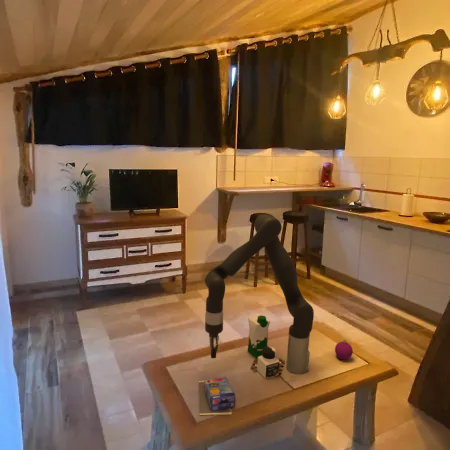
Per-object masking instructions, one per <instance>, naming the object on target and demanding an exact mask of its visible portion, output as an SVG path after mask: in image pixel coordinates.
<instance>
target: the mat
mask: <svg viewBox="0 0 450 450" xmlns="http://www.w3.org/2000/svg"><path fill="white" fill-rule="evenodd" d="M204 381H205V380H198V402H199V403H198V404H199V406H198V408H199V416H200V417H202V416H203V417H205V416H207V417H208V416H229V415H230V416H231V415H232V407H231V408H224V409H220V410H215V411H211V410H210V407H209V404H208V401H207V399H206V396H205V393H204Z"/></svg>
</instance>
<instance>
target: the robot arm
mask: <svg viewBox="0 0 450 450" xmlns="http://www.w3.org/2000/svg"><path fill="white" fill-rule="evenodd" d="M282 228H283V226H282V223H281V221H280V220H279V219H278V218H277V217H274V216H272V215H269V214H260V215H258V216H257V218H256V219H255V221H254V229H255V232H256V233H255V234H254V235H253V236H252V237H251V238H250V239H249V240H247V241H246V242H245V243H244V244H241V245H240V246H238V247H237V248H236V249H234V250H233V251H232V252H231V253H229V255H228V256H227V257H226V258H224V260H223V261H222V262H221V263H220V264H218V265H217V266H216V267H214V268H213V269H211V270H210V271H209V272H208V273H207V275H206V276H205V278H204V284H205V286H206V287H207V289H208V291H207V292H208V295H207V297H206V300H205V314H204V317H205V318H204V319H205V320H204V330H205V332H206V333H207V334H208V337H209V339H208V340H209V347H210V359H216V358H217V352H218V348H219V340H220V336H219V335H220V334H221V333H222V332H223V331H224V298H225V294H226V282H225V279H227V277H234V275H236V274H237V273H238V271H240V270H241V269H242V268H243V266H244V265H246V263H248V261H249V260H250V259H252V257H254V256H255V255H256V254H257V253H258V252H259V251H261V250H262V249H263V248H264V249H265V252H266V255H267V258H268V261H269V264H270V266H271V269H272V271H273V274H274V277H275V279H276V282H277V283H278V285H279V287H280V290H281V291H282V293H283V295H284V299H285V303H286V307H287V311H288V312H289V314H290V315H291V316H292V317H293V319H292V320H293V322H292V324H291V325H289V328H288V340H287V354H286V355H287V356H286V365H285V366H286V369H287V370H288V372H290V373H293V374H296V375H297V374H298V375H300V374H304V373H306V372H309V364H310V354H311V353H310V351H309V348H310V336H311V332H312V330H313V323H314V316H315V313H314V308H313V306H312V305H311V304H310V303H309V302H308V301H307V299H305V298H304V296H303V294H302V292H301V290H300V287H299V285H298V284H299V283H298V273H297V268H296V267H295V264H294V262H293V259H292V258H291V256H290V254H289V252H288V251H287V249H286V248H285V247H284V245H283V244H282V242H281V240H280V237H279V236H280V234H281V231H282Z"/></svg>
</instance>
